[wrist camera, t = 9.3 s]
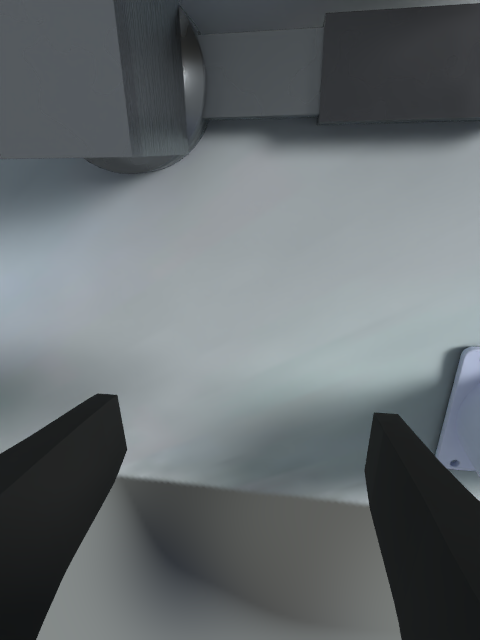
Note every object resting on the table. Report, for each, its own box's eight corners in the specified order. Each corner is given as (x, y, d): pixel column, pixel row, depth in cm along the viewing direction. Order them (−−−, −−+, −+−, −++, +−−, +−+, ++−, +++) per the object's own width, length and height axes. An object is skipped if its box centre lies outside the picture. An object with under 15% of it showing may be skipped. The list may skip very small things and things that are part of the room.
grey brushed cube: (178, -9, 14) (99, -114, 8) (188, 154, 16) (132, 157, 10) (40, 1, 14) (-117, -90, 9) (68, 156, 16) (-43, 159, 11)
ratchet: (557, -47, 13) (671, -134, 9) (503, 167, 16) (573, 173, 12) (46, -7, 16) (-40, -61, 12) (79, 172, 19) (18, 178, 15)
